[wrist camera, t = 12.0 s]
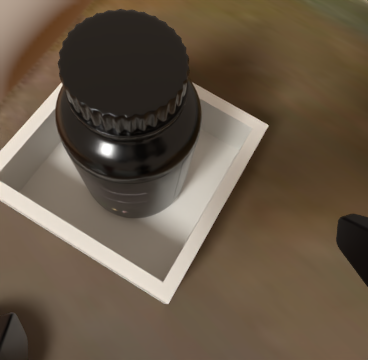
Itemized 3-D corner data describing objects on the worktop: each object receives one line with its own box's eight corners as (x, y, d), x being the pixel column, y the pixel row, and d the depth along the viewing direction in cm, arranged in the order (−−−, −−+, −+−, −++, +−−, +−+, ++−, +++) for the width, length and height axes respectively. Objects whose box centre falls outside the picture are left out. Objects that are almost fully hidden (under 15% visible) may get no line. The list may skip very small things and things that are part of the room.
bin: (164, 303, 22) (168, 304, 18) (1, 201, 23) (-27, 181, 19) (250, 150, 26) (268, 125, 22) (110, 71, 27) (105, 33, 23)
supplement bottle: (108, 116, 25) (77, -37, 14) (196, 146, 25) (240, 18, 14) (67, 202, 22) (-10, 102, 11) (166, 236, 22) (187, 170, 11)
